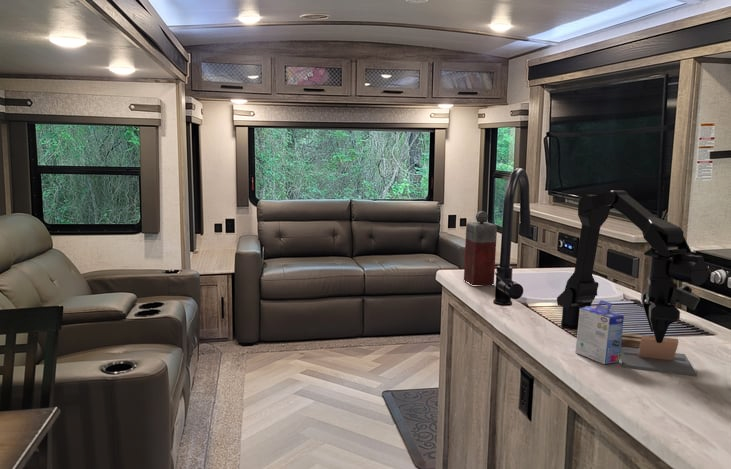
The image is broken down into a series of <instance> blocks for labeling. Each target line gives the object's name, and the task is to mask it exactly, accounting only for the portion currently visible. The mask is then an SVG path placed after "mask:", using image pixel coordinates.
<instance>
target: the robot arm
mask: <svg viewBox="0 0 731 469" xmlns="http://www.w3.org/2000/svg"><path fill="white" fill-rule="evenodd" d="M577 208H578V209H577V217H578V218H579V220H580V223H581V229H580V235H579V240H578V246H577V247H578V248H577V251H576V252H577V254H576V259H575V266H574V271H573V273H572V274H571V275H570V277H569V278H568V279H567V281H566V284H565V287H564V290H563V291H562V292H561V293H560V294H559V295H558V296H557V297H556V303H557V305H558V306H560V307H562V312H561V320H560V327H561V328H564V329H565V328H566V329H574V330H575V329H576V330H578V322H579V312H580V308H584V307H592V304H593V302H594V301H595V299H596V297H597V296H598V288H599V285H600V284H599V282H598V281H595V278H594V276H593V273H594V267H595V261H596V256H597V255H596V254H597V248H598V243H599V239H600V238H599V237H600V233H601V232H600V231H601V227H602V226H603V225H604V223H605V222H606V221H607V219H608V218H609V216H610V212H611V210H616V211H617V212H619V213H620V214H621V215H623V217H625V218H626V219H627V220H628V221H629V222H630V223H632V224H633V225H634V226H635V227H637V228H638V229H639V230H640V231H641V232H642V236H643V239H644V241H646V243H647V244H648V245H649V246H650V247H649V249H647V250H646V251H645V252H643V255H644V256H646V257H650V266H649V276H648V277H647V283H648V286H647V288H645V289H644V290H643V291H642V292H641V294H640V300H641V304H642V307H643V310H644V314H645V317H646V319H647V322H648V326H649V329H650V332H653V335H654V336H655V339H656V342H657V343H662V341H663V338H665V337H666V336H665V335H666V333H667V331H668V328H669V326H670V325H671V324H673V323H677V322H678V321H679V320H680V317H681V312H680V310H679V308H678V307H676V305H677V304H680V305H683V306H685V307H687V308H689V309H690V310H692V311H695V309H696V307H697V305H698V303H699V302H700V300H701V298H700V297H699V295H697V294H696V293H694V292H692V287H691V286H689V285H686V284H690V285H694V286H701V285H703V284H705V282H706V281H707V279H708V277H709V275H710V270H709V268H708V265H707V263H706V262H704V260H705V258H704V256H702V255H695V254H693V252H692V250H691V247H690V246H689V244H688V242H687V240H686V238H685V236H684V234H685V233H684V231H683V229H682V228H681V227H679V226H678V225H676V224H674V223H672V222H670V221H667V220H664V219H661V218H658V217H657V216H656V215H655V214H653V213H652V212H650V211H649V210H648V209H646V208H645V207H644V206H643V205H642V204H640V203H639V202H638V201H637V200H636V199H634V198H633V197H632V196H630V195H629V193H628V191H626V190H610V191H607V192H604V193H599V194H585V195H582V197H580V198H579V200H578V205H577ZM677 281H678V282H682V283H686V284H684V285H682V286H681V287H680V286H678V284H677Z"/></svg>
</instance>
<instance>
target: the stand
mask: <svg viewBox="0 0 731 469" xmlns="http://www.w3.org/2000/svg"><path fill="white" fill-rule="evenodd" d="M641 338H642V334H633V333H625V332H622V339H621V347H629V348H639V346H640V342H641Z"/></svg>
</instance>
